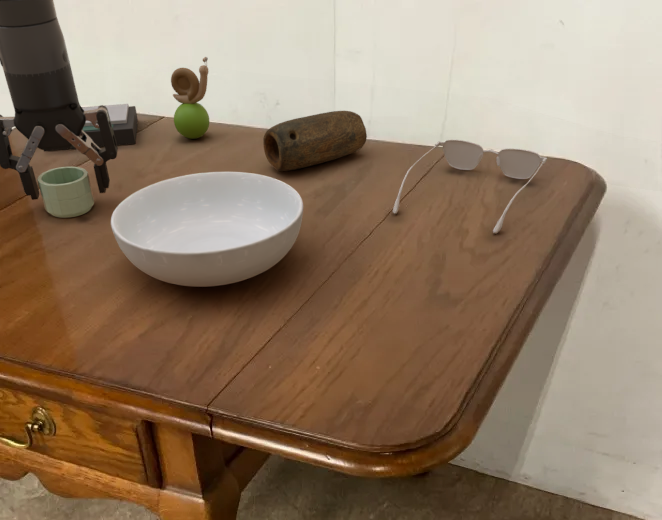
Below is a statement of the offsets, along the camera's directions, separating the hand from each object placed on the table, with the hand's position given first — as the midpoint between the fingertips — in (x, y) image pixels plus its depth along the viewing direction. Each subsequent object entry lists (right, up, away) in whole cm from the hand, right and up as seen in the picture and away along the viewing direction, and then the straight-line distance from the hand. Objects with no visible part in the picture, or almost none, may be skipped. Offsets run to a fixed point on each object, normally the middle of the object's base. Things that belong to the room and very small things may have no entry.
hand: (69, 194), depth 100 cm
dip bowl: (0, -2, +1) cm, 2 cm away
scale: (-4, +16, +23) cm, 28 cm away
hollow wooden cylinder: (+32, +8, +12) cm, 35 cm away
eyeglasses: (+52, 0, +1) cm, 52 cm away
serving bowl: (+21, -11, -12) cm, 26 cm away
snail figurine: (+13, +14, +21) cm, 28 cm away
